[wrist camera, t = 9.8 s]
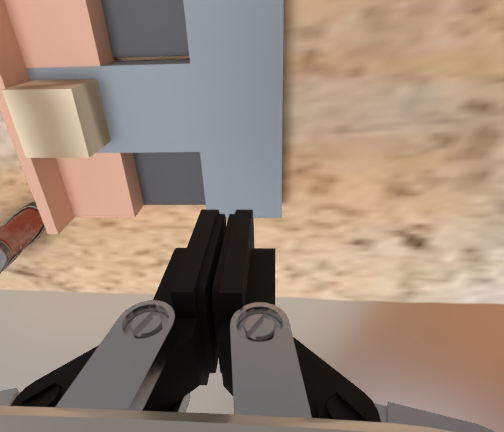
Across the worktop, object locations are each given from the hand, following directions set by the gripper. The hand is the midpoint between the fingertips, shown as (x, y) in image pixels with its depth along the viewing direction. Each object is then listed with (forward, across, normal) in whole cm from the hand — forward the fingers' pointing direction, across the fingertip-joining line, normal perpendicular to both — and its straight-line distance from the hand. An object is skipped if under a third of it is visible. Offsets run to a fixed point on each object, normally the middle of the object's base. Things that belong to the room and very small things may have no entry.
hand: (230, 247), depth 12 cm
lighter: (+22, +26, +13) cm, 37 cm away
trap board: (+22, +8, 0) cm, 24 cm away
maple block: (+19, +15, 0) cm, 24 cm away
